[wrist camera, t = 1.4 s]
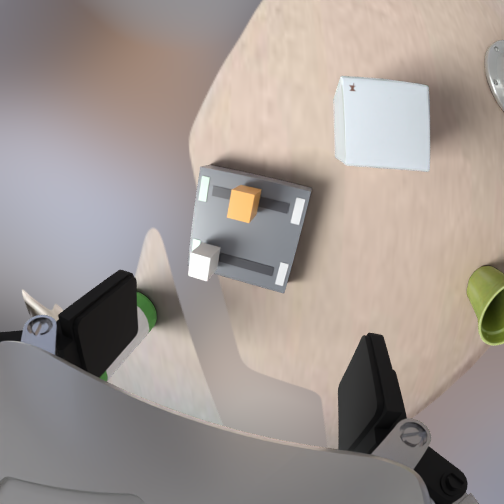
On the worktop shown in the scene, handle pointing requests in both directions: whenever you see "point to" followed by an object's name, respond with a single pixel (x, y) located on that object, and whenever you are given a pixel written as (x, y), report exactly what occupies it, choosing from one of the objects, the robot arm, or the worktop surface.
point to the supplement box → (382, 124)
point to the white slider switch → (204, 261)
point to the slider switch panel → (250, 226)
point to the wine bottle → (145, 325)
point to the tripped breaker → (244, 203)
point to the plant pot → (488, 303)
